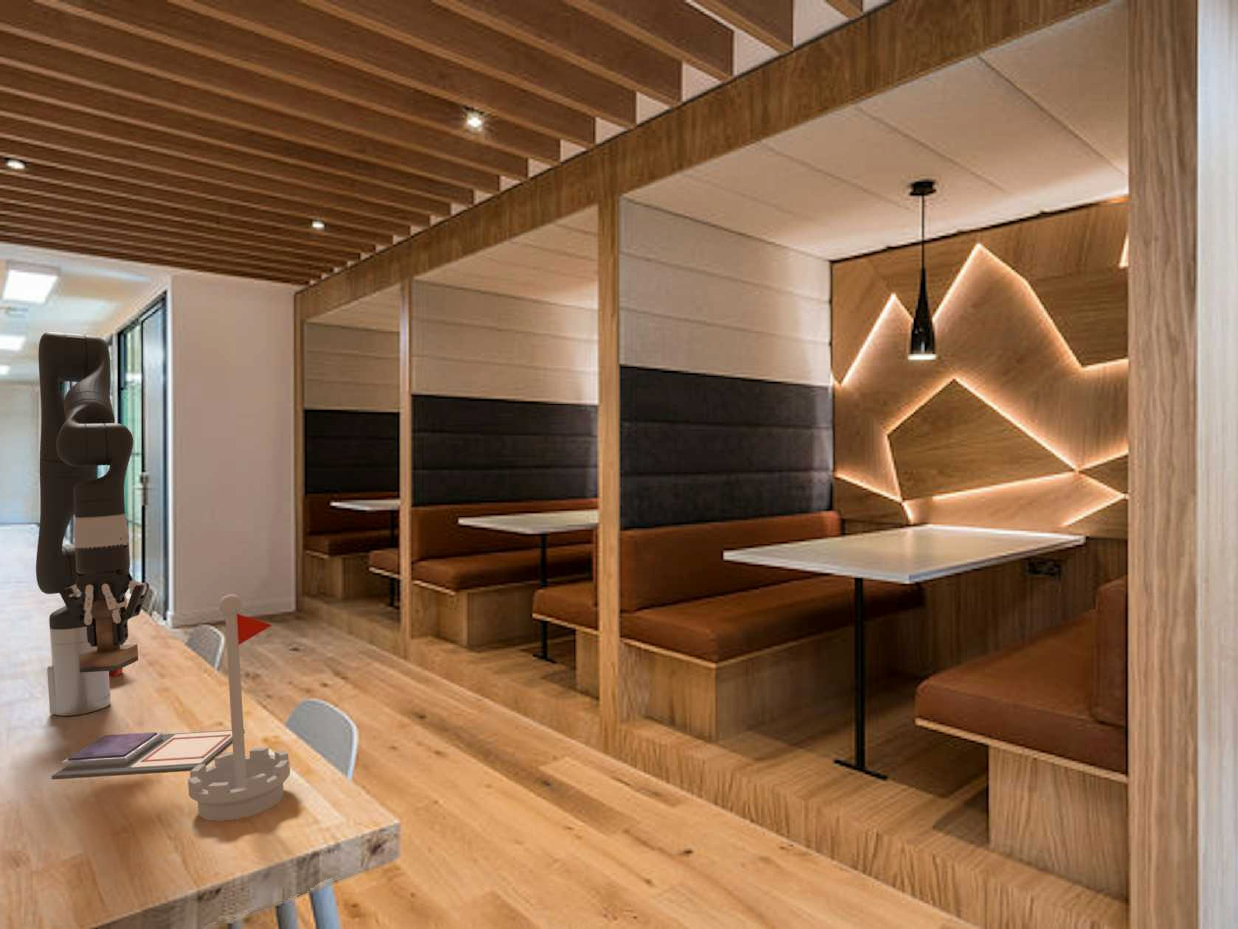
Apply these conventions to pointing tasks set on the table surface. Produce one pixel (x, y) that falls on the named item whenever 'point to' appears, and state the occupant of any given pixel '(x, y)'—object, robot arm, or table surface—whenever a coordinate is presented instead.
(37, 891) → the table surface
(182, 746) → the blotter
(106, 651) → the stamp
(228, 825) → the table surface
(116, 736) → the ink pad
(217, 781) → the flag stand
